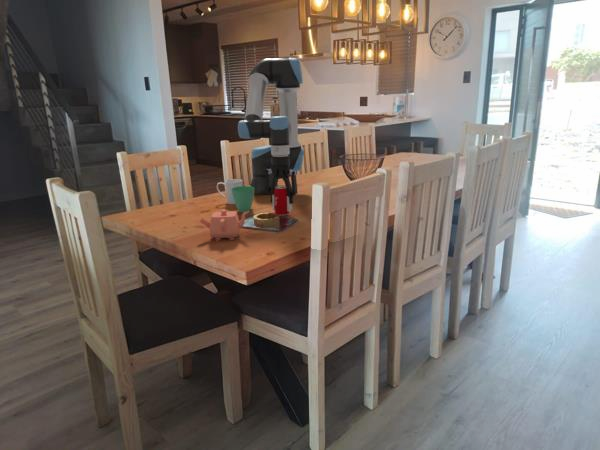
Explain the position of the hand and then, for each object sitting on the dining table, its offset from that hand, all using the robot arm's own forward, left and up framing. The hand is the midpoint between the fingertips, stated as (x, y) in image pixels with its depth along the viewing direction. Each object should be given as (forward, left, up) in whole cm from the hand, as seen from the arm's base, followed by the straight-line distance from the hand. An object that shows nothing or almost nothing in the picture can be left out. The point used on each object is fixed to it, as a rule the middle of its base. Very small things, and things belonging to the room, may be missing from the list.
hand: (282, 210), depth 185 cm
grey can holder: (+14, 0, -2) cm, 14 cm away
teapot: (+34, -6, -2) cm, 35 cm away
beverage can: (0, 0, -2) cm, 2 cm away
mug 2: (-2, -19, -2) cm, 19 cm away
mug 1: (-10, -32, -2) cm, 34 cm away
